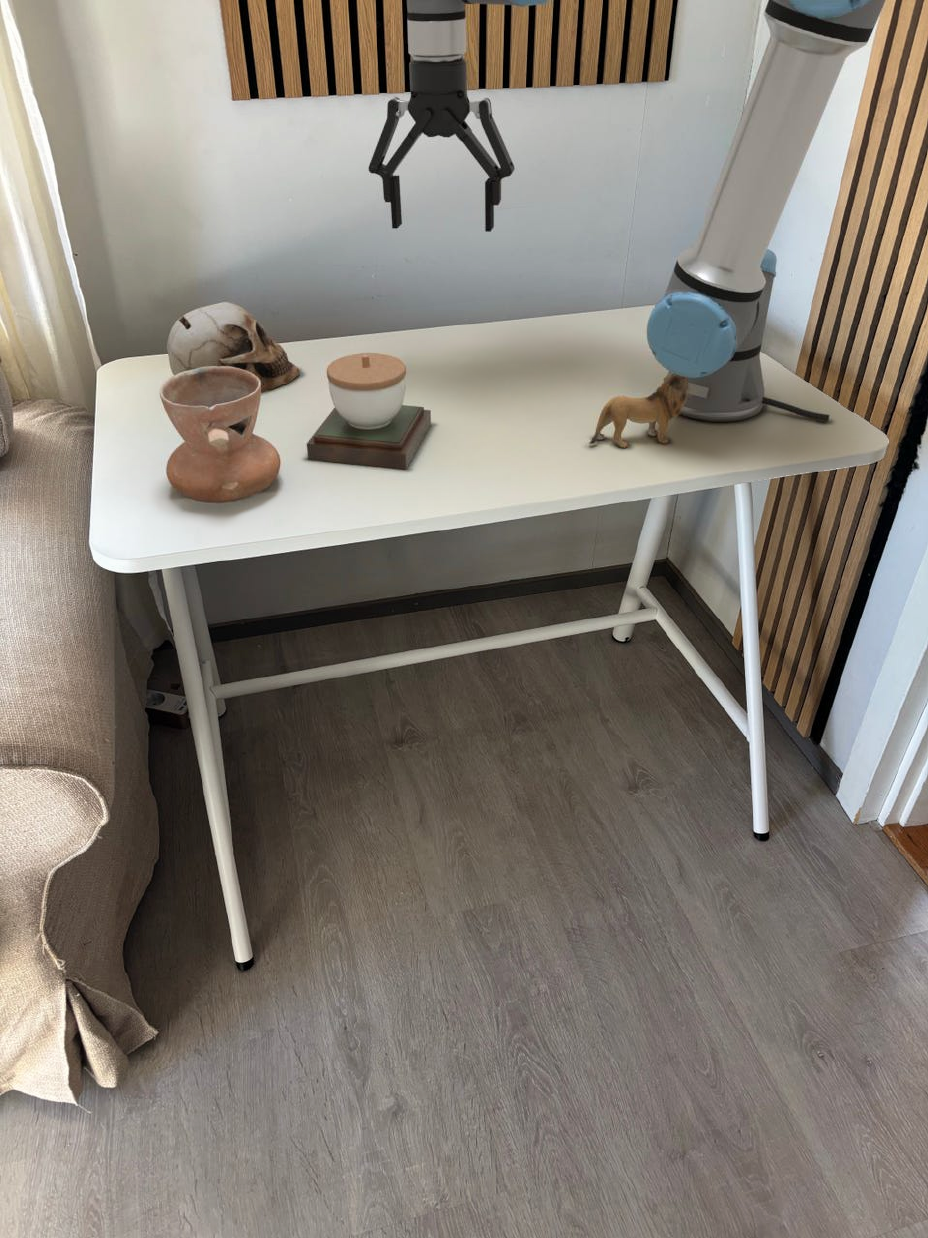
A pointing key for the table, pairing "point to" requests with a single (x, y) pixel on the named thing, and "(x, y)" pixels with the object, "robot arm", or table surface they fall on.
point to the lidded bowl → (367, 388)
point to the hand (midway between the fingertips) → (443, 227)
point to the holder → (371, 440)
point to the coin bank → (228, 345)
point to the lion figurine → (645, 409)
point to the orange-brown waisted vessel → (217, 435)
